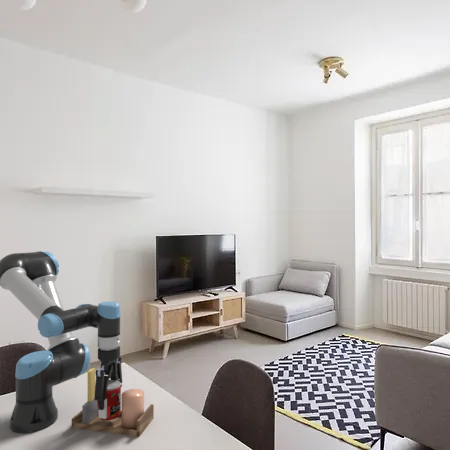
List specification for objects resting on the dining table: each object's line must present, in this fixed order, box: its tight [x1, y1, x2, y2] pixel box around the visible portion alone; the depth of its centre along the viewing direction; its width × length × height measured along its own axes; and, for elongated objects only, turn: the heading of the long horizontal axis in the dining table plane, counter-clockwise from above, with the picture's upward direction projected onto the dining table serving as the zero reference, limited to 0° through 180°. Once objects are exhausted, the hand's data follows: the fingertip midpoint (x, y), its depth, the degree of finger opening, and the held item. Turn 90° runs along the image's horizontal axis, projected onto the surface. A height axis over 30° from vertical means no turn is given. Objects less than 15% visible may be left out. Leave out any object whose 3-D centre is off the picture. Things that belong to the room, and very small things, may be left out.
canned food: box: [97, 379, 122, 420], centre depth 132 cm, size 8×8×11 cm
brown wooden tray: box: [71, 404, 155, 438], centre depth 131 cm, size 25×12×6 cm, turn 78°
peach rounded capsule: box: [121, 388, 145, 430], centre depth 130 cm, size 8×8×11 cm
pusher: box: [81, 367, 98, 424], centre depth 133 cm, size 1×9×18 cm, turn 168°
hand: (109, 411), depth 132 cm, fingers closed on canned food, 8 cm apart
